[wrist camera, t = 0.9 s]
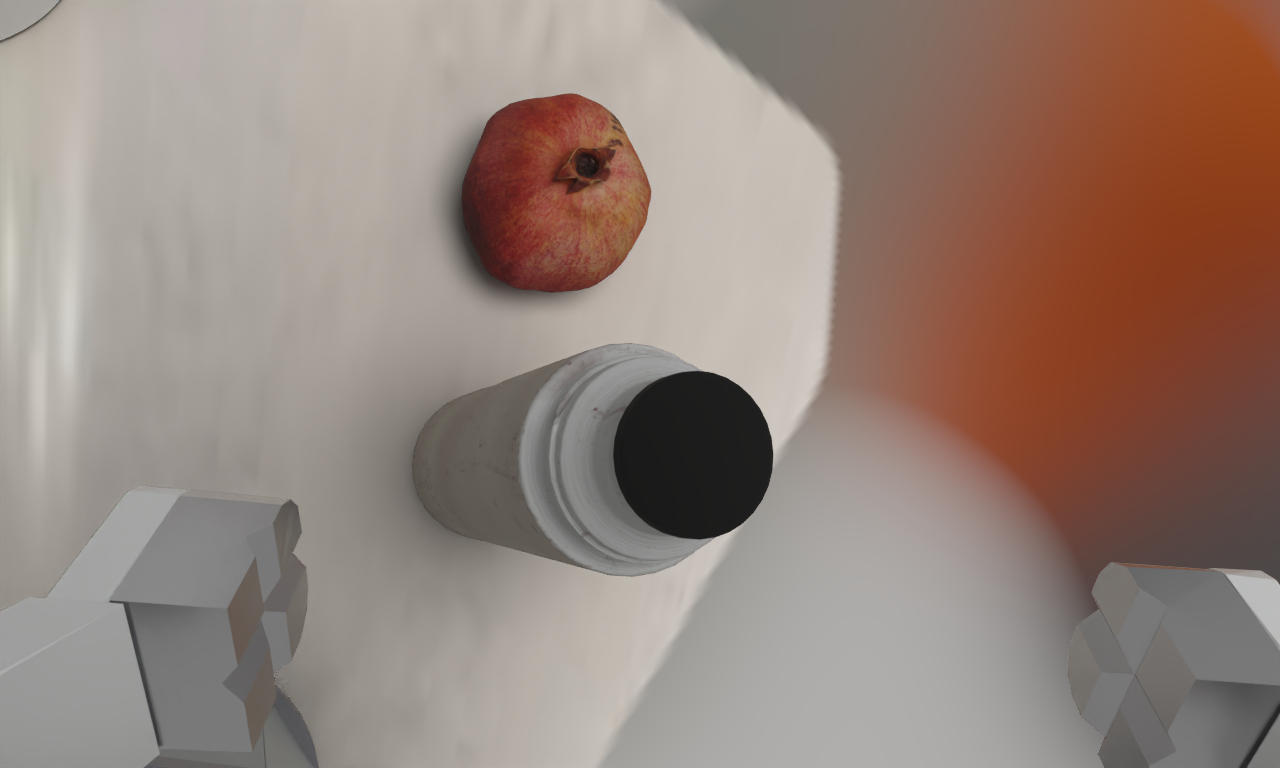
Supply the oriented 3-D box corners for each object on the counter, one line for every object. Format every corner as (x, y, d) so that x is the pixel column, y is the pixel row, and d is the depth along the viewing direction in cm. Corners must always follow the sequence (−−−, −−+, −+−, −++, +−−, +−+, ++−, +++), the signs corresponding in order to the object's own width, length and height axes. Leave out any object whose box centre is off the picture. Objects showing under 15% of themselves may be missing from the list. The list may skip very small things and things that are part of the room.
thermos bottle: (583, 464, 56) (870, 454, 31) (485, 568, 54) (708, 655, 28) (486, 362, 55) (701, 261, 29) (380, 465, 52) (513, 456, 26)
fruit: (514, 90, 57) (567, 15, 48) (646, 201, 59) (721, 151, 50) (403, 231, 54) (436, 180, 45) (548, 341, 56) (608, 315, 47)
